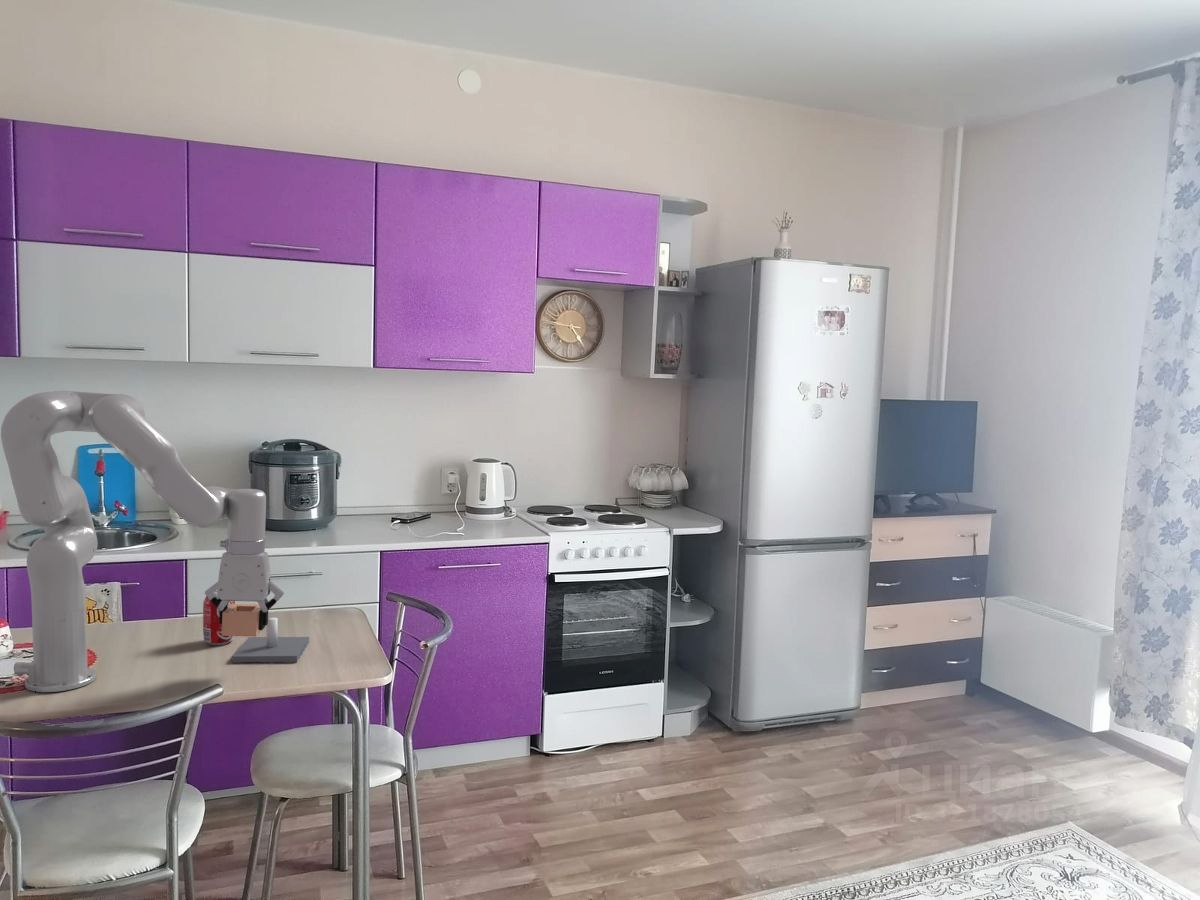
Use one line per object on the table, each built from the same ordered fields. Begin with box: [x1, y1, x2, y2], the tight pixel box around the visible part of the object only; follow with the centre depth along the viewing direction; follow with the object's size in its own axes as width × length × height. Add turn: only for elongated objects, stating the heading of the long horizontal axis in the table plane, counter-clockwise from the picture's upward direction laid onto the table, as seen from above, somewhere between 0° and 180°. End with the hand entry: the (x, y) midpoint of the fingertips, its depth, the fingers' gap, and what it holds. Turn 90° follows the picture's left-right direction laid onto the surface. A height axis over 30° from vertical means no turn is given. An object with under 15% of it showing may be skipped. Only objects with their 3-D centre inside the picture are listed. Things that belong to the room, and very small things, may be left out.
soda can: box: [202, 590, 236, 646], centre depth 212 cm, size 7×7×12 cm
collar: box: [222, 603, 262, 637], centre depth 192 cm, size 7×7×5 cm
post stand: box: [231, 617, 310, 664], centre depth 207 cm, size 14×14×8 cm
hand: (243, 627), depth 192 cm, fingers closed on collar, 7 cm apart
